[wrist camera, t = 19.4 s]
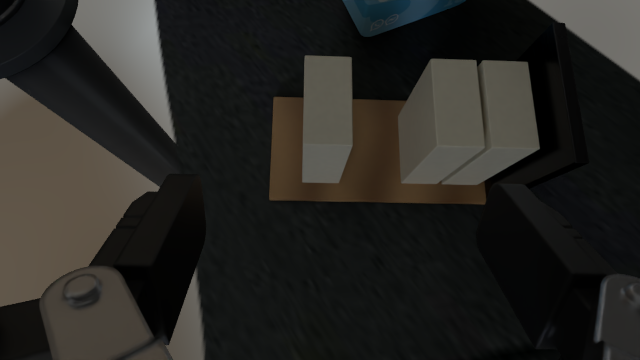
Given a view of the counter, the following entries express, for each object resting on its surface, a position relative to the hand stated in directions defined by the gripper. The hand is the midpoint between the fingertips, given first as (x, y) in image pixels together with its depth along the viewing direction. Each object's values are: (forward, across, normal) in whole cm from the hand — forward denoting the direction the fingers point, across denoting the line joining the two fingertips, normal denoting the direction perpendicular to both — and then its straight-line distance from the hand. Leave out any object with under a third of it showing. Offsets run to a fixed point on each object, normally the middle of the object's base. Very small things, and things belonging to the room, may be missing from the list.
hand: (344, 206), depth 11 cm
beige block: (+21, 0, +8) cm, 22 cm away
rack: (+21, -6, +8) cm, 24 cm away
